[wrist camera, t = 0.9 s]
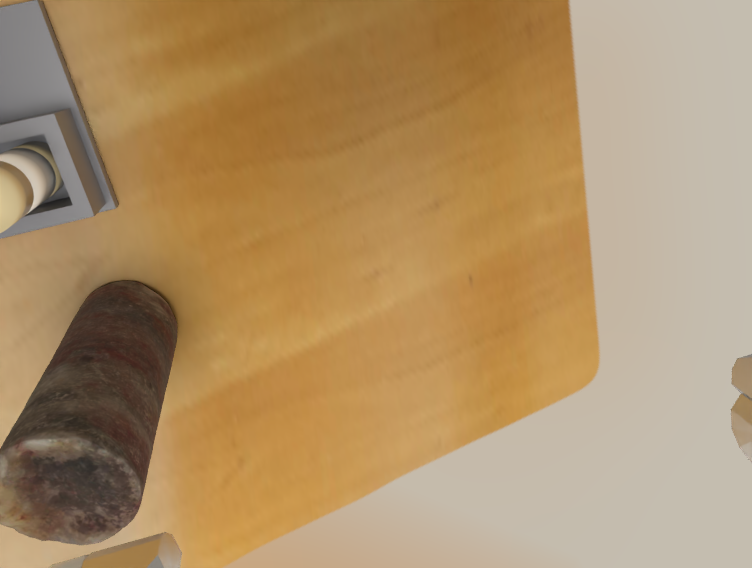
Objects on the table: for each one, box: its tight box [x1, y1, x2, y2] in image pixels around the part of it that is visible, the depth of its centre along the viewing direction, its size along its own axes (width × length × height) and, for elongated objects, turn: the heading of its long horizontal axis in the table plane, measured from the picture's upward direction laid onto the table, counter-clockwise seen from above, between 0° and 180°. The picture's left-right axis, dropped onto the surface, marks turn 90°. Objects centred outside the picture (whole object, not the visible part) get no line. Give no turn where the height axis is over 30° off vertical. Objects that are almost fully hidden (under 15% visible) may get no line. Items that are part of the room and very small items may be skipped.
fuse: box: [0, 141, 64, 233], centre depth 37 cm, size 4×4×10 cm
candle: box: [0, 281, 177, 545], centre depth 39 cm, size 8×7×20 cm
